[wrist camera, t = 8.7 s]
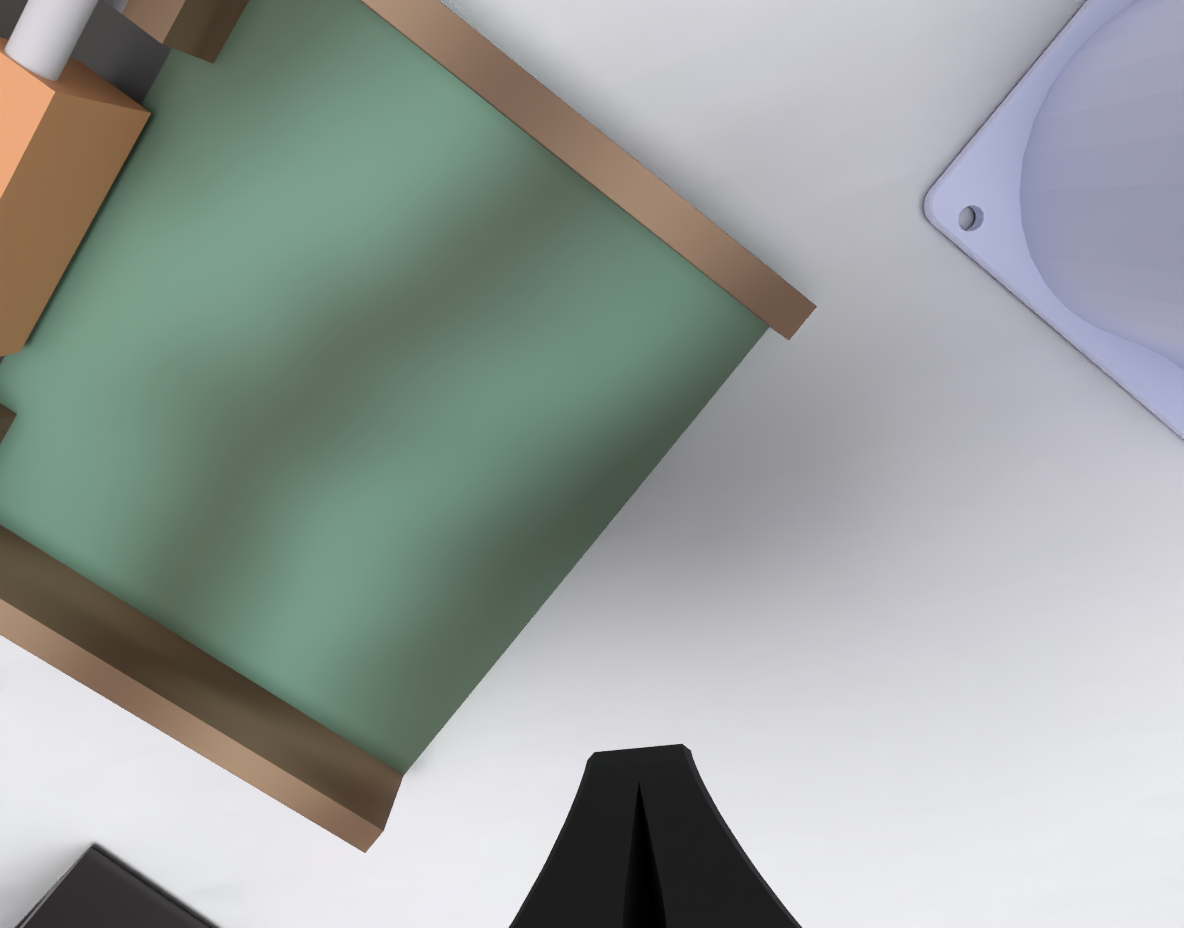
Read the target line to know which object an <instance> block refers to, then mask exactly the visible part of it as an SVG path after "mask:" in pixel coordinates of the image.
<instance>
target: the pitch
mask: <svg viewBox="0 0 1184 928" xmlns="http://www.w3.org/2000/svg"><path fill="white" fill-rule="evenodd" d="M27 2H28V0H0V37H1V38H4V39H8V40H9V39H10V37H11V35H12V33H13V31H14V29H15V27H16V25H17V23H18V21H19V18H20V16H21V14H22V12H23V10H24V8H25V6H26V4H27ZM69 58H73V59H76V60H79V61H81V62H82V63H83V64H85V65H86V66H87V67H89V68H90V69H92V70H93V71H94V72H96V73H97V74H98V75H100V76H101V77H102V78H104V79H105V80H107V81H108V82H109V83H111V84H112V85H113V86H115V87H116V88H117V89H119V90H120V91H122V92H123V93H124V94H126V95H127V96H128V97H130V98H131V99H132V100H134V101H135V102H137V103H138V104H139V105H141V106H142V107H143V108H145V109H146V110H147V111H149V112H150V113H151V114H150V116H149V118H148V120H147V121H146V123H145V125H144V127H143V129H142V131H141V132H140V134H139V136H138V138H137V140H136V142H135V143H134V145H133V147H132V149H131V151H130V152H129V154H128V156H127V158H126V160H125V162H124V163H123V165H122V167H121V169H120V171H119V173H118V174H117V176H116V178H115V180H114V182H113V183H112V185H111V187H110V189H109V191H108V193H107V194H106V196H105V198H104V200H103V202H102V204H101V205H100V207H99V209H98V211H97V213H96V214H95V216H94V218H93V220H92V222H91V224H90V225H89V227H88V229H87V231H86V233H85V234H84V236H83V238H82V240H81V242H80V244H79V245H78V247H77V249H76V251H75V253H74V255H73V256H72V258H71V260H70V262H69V264H68V265H67V267H66V269H65V271H64V273H63V275H62V276H61V278H60V280H59V282H58V284H57V286H56V287H55V289H54V291H53V293H52V295H51V296H50V298H49V300H48V302H47V304H46V306H45V307H44V309H43V311H42V313H41V315H40V317H39V318H38V320H37V322H36V324H35V326H34V327H33V329H32V331H31V333H30V335H29V337H28V338H27V340H26V342H25V344H24V346H23V347H22V349H21V351H20V352H18V353H14V354H10V355H5V356H1V357H0V635H2V636H3V637H5V638H7V639H8V640H10V641H12V642H13V643H15V644H17V645H18V646H20V647H22V648H23V649H25V650H27V651H28V652H30V653H32V654H33V655H35V656H37V657H38V658H40V659H42V660H43V661H45V662H47V663H48V664H50V665H52V666H53V667H55V668H57V669H58V670H60V671H62V672H63V673H65V674H67V675H68V676H70V677H72V678H73V679H75V680H77V681H78V682H80V683H82V684H83V685H85V686H87V687H89V688H90V689H92V690H94V691H95V692H97V693H99V694H100V695H102V696H104V697H105V698H107V699H109V700H110V701H112V702H114V703H115V704H117V705H119V706H120V707H122V708H124V709H125V710H127V711H129V712H130V713H132V714H134V715H135V716H137V717H139V718H140V719H142V720H144V721H145V722H147V723H149V724H150V725H152V726H154V727H155V728H157V729H159V730H160V731H162V732H164V733H165V734H167V735H169V736H170V737H172V738H174V739H175V740H177V741H179V742H180V743H182V744H184V745H185V746H187V747H189V748H190V749H192V750H194V751H195V752H197V753H199V754H200V755H202V756H204V757H206V758H207V759H209V760H211V761H212V762H214V763H216V764H217V765H219V766H221V767H222V768H224V769H226V770H227V771H229V772H231V773H232V774H234V775H236V776H237V777H239V778H241V779H242V780H244V781H246V782H247V783H249V784H251V785H252V786H254V787H256V788H257V789H259V790H261V791H262V792H264V793H266V794H267V795H269V796H271V797H272V798H274V799H276V800H277V801H279V802H281V803H282V804H284V805H286V806H287V807H289V808H291V809H292V810H294V811H296V812H297V813H299V814H301V815H302V816H304V817H306V818H307V819H309V820H311V821H312V822H314V823H316V824H317V825H319V826H321V827H323V828H324V829H326V830H328V831H329V832H331V833H333V834H334V835H336V836H338V837H339V838H341V839H343V840H344V841H346V842H348V843H349V844H351V845H353V846H354V847H356V848H358V849H359V850H361V851H363V852H364V853H366V851H367V850H368V849H369V848H370V847H371V845H372V844H373V843H374V842H375V841H376V839H377V838H378V837H379V836H380V834H381V833H382V832H383V831H384V828H385V825H386V823H387V820H388V817H389V814H390V811H391V809H392V806H393V803H394V800H395V798H396V795H397V792H398V789H399V787H400V784H401V781H402V778H403V775H404V774H405V773H406V772H407V771H408V769H409V768H410V767H411V766H412V764H413V763H414V762H415V761H416V759H417V758H418V757H419V756H420V755H421V753H422V752H423V751H424V750H425V748H426V747H427V746H428V745H429V744H430V742H431V741H432V740H433V739H434V737H435V736H436V735H437V734H438V733H439V731H440V730H441V729H442V728H443V726H444V725H445V724H446V723H447V721H448V720H449V719H450V718H451V717H452V715H453V714H454V713H455V712H456V710H457V709H458V708H459V707H460V706H461V704H462V703H463V702H464V701H465V699H466V698H467V697H468V696H469V694H470V693H471V692H472V691H473V690H474V688H475V687H476V686H477V685H478V683H479V682H480V681H481V680H482V679H483V677H484V676H485V675H486V674H487V672H488V671H489V670H490V669H491V667H492V666H493V665H494V664H495V663H496V661H497V660H498V659H499V658H500V656H501V655H502V654H503V653H504V652H505V650H506V649H507V648H508V647H509V645H510V644H511V643H512V642H513V641H514V639H515V638H516V637H517V636H518V634H519V633H520V632H521V631H522V629H523V628H524V627H525V626H526V625H527V623H528V622H529V621H530V620H531V618H532V617H533V616H534V615H535V614H536V612H537V611H538V610H539V609H540V607H541V606H542V605H543V604H544V602H545V601H546V600H547V599H548V598H549V596H550V595H551V594H552V593H553V591H554V590H555V589H556V588H557V587H558V585H559V584H560V583H561V582H562V580H563V579H564V578H565V577H566V575H567V574H568V573H569V572H570V571H571V569H572V568H573V567H574V566H575V564H576V563H577V562H578V561H579V560H580V558H581V557H582V556H583V555H584V553H585V552H586V551H587V550H588V549H589V547H590V546H591V545H592V544H593V542H594V541H595V540H596V539H597V537H598V536H599V535H600V534H601V533H602V531H603V530H604V529H605V528H606V526H607V525H608V524H609V523H610V522H611V520H612V519H613V518H614V517H615V515H616V514H617V513H618V512H619V510H620V509H621V508H622V507H623V506H624V504H625V503H626V502H627V501H628V499H629V498H630V497H631V496H632V495H633V493H634V492H635V491H636V490H637V488H638V487H639V486H640V485H641V484H642V482H643V481H644V480H645V479H646V477H647V476H648V475H649V474H650V472H651V471H652V470H653V469H654V468H655V466H656V465H657V464H658V463H659V461H660V460H661V459H662V458H663V457H664V455H665V454H666V453H667V452H668V450H669V449H670V448H671V447H672V445H673V444H674V443H675V442H676V441H677V439H678V438H679V437H680V436H681V434H682V433H683V432H684V431H685V430H686V428H687V427H688V426H689V425H690V423H691V422H692V421H693V420H694V418H695V417H696V416H697V415H698V414H699V412H700V411H701V410H702V409H703V407H704V406H705V405H706V404H707V403H708V401H709V400H710V399H711V398H712V396H713V395H714V394H715V393H716V392H717V390H718V389H719V388H720V387H721V385H722V384H723V383H724V382H725V380H726V379H727V378H728V377H729V376H730V374H731V373H732V372H733V371H734V369H735V368H736V367H737V366H738V365H739V363H740V362H741V361H742V360H743V358H744V357H745V356H746V355H747V353H748V352H749V351H750V350H751V349H752V347H753V346H754V345H755V344H756V342H757V341H758V340H759V339H760V338H761V336H762V335H763V334H764V333H765V331H766V330H767V329H768V328H769V327H771V328H772V329H774V330H775V331H777V332H778V333H779V334H781V335H782V336H784V337H785V338H787V339H788V340H790V338H791V337H792V336H793V335H794V334H795V332H796V331H797V330H798V329H799V328H800V326H801V325H802V324H803V323H804V321H805V320H806V319H807V318H808V317H809V315H810V314H811V313H812V312H813V311H814V309H815V308H816V307H817V306H816V305H814V304H813V303H812V302H811V301H809V300H808V299H807V298H806V297H804V296H803V295H802V294H801V293H799V292H798V291H797V290H796V289H795V288H793V287H792V286H791V285H790V284H788V283H787V282H786V281H785V280H783V279H782V278H781V277H780V276H778V275H777V274H776V273H775V272H774V271H772V270H771V269H770V268H769V267H767V266H766V265H765V264H764V263H762V262H761V261H760V260H759V259H757V258H756V257H755V256H754V255H753V254H751V253H750V252H749V251H748V250H746V249H745V248H744V247H743V246H741V245H740V244H739V243H738V242H736V241H735V240H734V239H733V238H732V237H730V236H729V235H728V234H727V233H725V232H724V231H723V230H722V229H720V228H719V227H718V226H717V225H715V224H714V223H713V222H712V221H711V220H709V219H708V218H707V217H706V216H704V215H703V214H702V213H701V212H699V211H698V210H697V209H696V208H694V207H693V206H692V205H691V204H690V203H688V202H687V201H686V200H685V199H683V198H682V197H681V196H680V195H678V194H677V193H676V192H675V191H673V190H672V189H671V188H670V187H669V186H667V185H666V184H665V183H664V182H662V181H661V180H660V179H659V178H657V177H656V176H655V175H654V174H652V173H651V172H650V171H649V170H648V169H646V168H645V167H644V166H643V165H641V164H640V163H639V162H638V161H636V160H635V159H634V158H633V157H631V156H630V155H629V154H628V153H627V152H625V151H624V150H623V149H622V148H620V147H619V146H618V145H617V144H615V143H614V142H613V141H612V140H610V139H609V138H608V137H607V136H606V135H604V134H603V133H602V132H601V131H599V130H598V129H597V128H596V127H594V126H593V125H592V124H591V123H589V122H588V121H587V120H586V119H585V118H583V117H582V116H581V115H580V114H578V113H577V112H576V111H575V110H573V109H572V108H571V107H570V106H568V105H567V104H566V103H565V102H564V101H562V100H561V99H560V98H559V97H557V96H556V95H555V94H554V93H552V92H551V91H550V90H549V89H547V88H546V87H545V86H544V85H542V84H541V83H540V82H539V81H538V80H536V79H535V78H534V77H533V76H531V75H530V74H529V73H528V72H526V71H525V70H524V69H523V68H521V67H520V66H519V65H518V64H517V63H515V62H514V61H513V60H512V59H510V58H509V57H508V56H507V55H505V54H504V53H503V52H502V51H500V50H499V49H498V48H497V47H496V46H494V45H493V44H492V43H491V42H489V41H488V40H487V39H486V38H484V37H483V36H482V35H481V34H479V33H478V32H477V31H476V30H475V29H473V28H472V27H471V26H470V25H468V24H467V23H466V22H465V21H463V20H462V19H461V18H460V17H458V16H457V15H456V14H455V13H454V12H452V11H451V10H450V9H449V8H447V7H446V6H445V5H444V4H442V3H441V2H440V1H439V0H98V2H97V4H96V6H95V8H94V10H93V12H92V14H91V16H90V18H89V20H88V22H87V23H86V25H85V27H84V29H83V31H82V33H81V35H80V37H79V39H78V41H77V43H76V45H75V47H74V49H73V51H72V53H71V55H70V57H69Z"/></svg>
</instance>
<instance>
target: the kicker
mask: <svg viewBox="0 0 1184 928" xmlns="http://www.w3.org/2000/svg"><path fill="white" fill-rule="evenodd" d="M97 2H98V0H28V2H27V4H26V6H25V8H24V10H23V12H22V14H21V16H20V18H19V21H18V23H17V25H16V27H15V29H14V31H13V33H12V35H11V37H10V39H9V40H8V39H4V38H1V37H0V357H1V356H5V355H10V354H14V353H18V352H20V351H21V349H22V347H23V346H24V344H25V342H26V340H27V338H28V337H29V335H30V333H31V331H32V329H33V327H34V326H35V324H36V322H37V320H38V318H39V317H40V315H41V313H42V311H43V309H44V307H45V306H46V304H47V302H48V300H49V298H50V296H51V295H52V293H53V291H54V289H55V287H56V286H57V284H58V282H59V280H60V278H61V276H62V275H63V273H64V271H65V269H66V267H67V265H68V264H69V262H70V260H71V258H72V256H73V255H74V253H75V251H76V249H77V247H78V245H79V244H80V242H81V240H82V238H83V236H84V234H85V233H86V231H87V229H88V227H89V225H90V224H91V222H92V220H93V218H94V216H95V214H96V213H97V211H98V209H99V207H100V205H101V204H102V202H103V200H104V198H105V196H106V194H107V193H108V191H109V189H110V187H111V185H112V183H113V182H114V180H115V178H116V176H117V174H118V173H119V171H120V169H121V167H122V165H123V163H124V162H125V160H126V158H127V156H128V154H129V152H130V151H131V149H132V147H133V145H134V143H135V142H136V140H137V138H138V136H139V134H140V132H141V131H142V129H143V127H144V125H145V123H146V121H147V120H148V118H149V116H150V114H151V113H150V112H149V111H147V110H146V109H145V108H143V107H142V106H141V105H139V104H138V103H137V102H135V101H134V100H132V99H131V98H130V97H128V96H127V95H126V94H124V93H123V92H122V91H120V90H119V89H117V88H116V87H115V86H113V85H112V84H111V83H109V82H108V81H107V80H105V79H104V78H102V77H101V76H100V75H98V74H97V73H96V72H94V71H93V70H92V69H90V68H89V67H87V66H86V65H85V64H83V63H82V62H81V61H79V60H76V59H73V58H69V57H70V55H71V53H72V51H73V49H74V47H75V45H76V43H77V41H78V39H79V37H80V35H81V33H82V31H83V29H84V27H85V25H86V23H87V22H88V20H89V18H90V16H91V14H92V12H93V10H94V8H95V6H96V4H97Z"/></svg>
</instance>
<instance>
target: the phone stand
mask: <svg viewBox="0 0 1184 928" xmlns="http://www.w3.org/2000/svg"><path fill="white" fill-rule="evenodd" d="M15 928H209V927H208V926H206V925H205V924H203V923H202V922H200V921H199V920H198V919H196V918H195V917H193V916H192V915H190V914H189V913H187V912H186V911H184V910H183V909H181V908H180V907H179V906H177V905H176V904H174V903H173V902H171V901H170V900H168V899H167V898H165V897H164V896H162V895H161V894H160V893H158V892H157V891H155V890H154V889H152V888H151V887H149V886H148V885H146V884H145V883H143V882H142V881H140V880H139V879H138V878H136V877H135V876H133V875H132V874H130V873H129V872H127V871H126V870H124V869H123V868H121V867H120V866H119V865H117V864H116V863H114V862H113V861H111V860H110V859H108V858H107V857H105V856H104V855H102V854H101V853H99V852H98V851H97V850H95V849H94V848H92V847H90V848H89V849H88V850H87V851H86V852H85V853H84V854H83V855H82V856H81V857H80V858H79V859H78V860H77V861H76V862H75V864H74V865H73V866H72V867H71V868H70V869H69V870H68V871H67V872H66V873H65V874H64V875H63V876H62V877H61V879H60V880H59V881H58V882H57V883H56V884H55V885H54V886H53V887H52V888H51V889H50V890H49V891H48V892H47V893H46V895H45V896H44V897H43V898H42V899H41V900H40V901H39V902H38V903H37V904H36V905H35V906H34V907H33V908H32V910H31V911H30V912H29V913H28V914H27V915H26V916H25V917H24V918H23V919H22V920H21V921H20V922H19V923H18V924H17V926H16V927H15Z"/></svg>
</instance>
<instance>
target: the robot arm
mask: <svg viewBox="0 0 1184 928" xmlns="http://www.w3.org/2000/svg"><path fill="white" fill-rule="evenodd" d="M967 206H969V207H971V208H973V210H974V212H975V213H976V220H975V222H974V224H973V226H972V227H971V228H969V229H968V230H966V231H965V230H963V229H962V228H961V227H960V225H959V215H960V213H961V211H962V210H963V209H964V208H966V207H967ZM924 211H925V215H926V217H927V219H928V220H929V221H930V223H931V224H933V225H934V226H935V227H936V228H937V229H938V230H940V231H941V232H942V233H943V234H944V235H945V236H947V237H948V238H949V239H950V240H951V241H952V242H954V243H955V244H956V245H957V246H958V247H959V248H961V249H962V250H963V251H964V252H965V253H966V254H968V255H969V256H970V257H971V258H972V259H973V260H975V261H976V262H977V263H978V264H979V265H980V266H982V267H983V268H984V269H985V270H986V271H987V272H989V273H990V274H991V275H992V276H993V277H994V278H996V279H997V280H998V281H999V282H1000V283H1001V284H1003V285H1004V286H1005V287H1006V288H1007V289H1008V290H1010V291H1011V292H1012V293H1013V294H1014V295H1015V296H1017V297H1018V298H1019V299H1020V300H1021V301H1022V302H1024V303H1025V304H1026V305H1027V306H1028V307H1029V308H1031V309H1032V310H1033V311H1034V312H1035V313H1036V314H1038V315H1039V316H1040V317H1041V318H1042V319H1044V320H1045V321H1046V322H1047V323H1048V324H1049V325H1051V326H1052V327H1053V328H1054V329H1055V330H1056V331H1058V332H1059V333H1060V334H1061V335H1062V336H1063V337H1065V338H1066V339H1067V340H1068V341H1069V342H1070V343H1072V344H1073V345H1074V346H1075V347H1076V348H1077V349H1079V350H1080V351H1081V352H1082V353H1083V354H1084V355H1086V356H1087V357H1088V358H1089V359H1090V360H1091V361H1093V362H1094V363H1095V364H1096V365H1097V366H1098V367H1100V368H1101V369H1102V370H1103V371H1104V372H1105V373H1107V374H1108V375H1109V376H1110V377H1111V378H1112V379H1114V380H1115V381H1116V382H1117V383H1118V384H1119V385H1121V386H1122V387H1123V388H1124V389H1125V390H1126V391H1128V392H1129V393H1130V394H1131V395H1132V396H1133V397H1135V398H1136V399H1137V400H1138V401H1139V402H1140V403H1142V404H1143V405H1144V406H1145V407H1146V408H1147V409H1149V410H1150V411H1151V412H1152V413H1153V414H1154V415H1156V416H1157V417H1158V418H1159V419H1160V420H1161V421H1163V422H1164V423H1165V424H1166V425H1167V426H1168V427H1170V428H1171V429H1172V430H1173V431H1174V432H1175V433H1177V434H1178V435H1179V436H1180V437H1181V438H1182V439H1184V0H1087V1H1086V2H1085V4H1084V5H1083V6H1082V7H1081V8H1080V10H1079V11H1078V12H1077V13H1076V14H1075V16H1074V17H1073V18H1072V19H1071V20H1070V22H1069V23H1068V24H1067V25H1066V26H1065V28H1064V29H1063V30H1062V31H1061V32H1060V34H1059V35H1058V36H1057V37H1056V38H1055V40H1054V41H1053V42H1052V43H1051V44H1050V46H1049V47H1048V48H1047V49H1046V50H1045V52H1044V53H1043V54H1042V55H1041V56H1040V58H1039V59H1038V60H1037V61H1036V62H1035V64H1034V65H1033V66H1032V67H1031V68H1030V70H1029V71H1028V72H1027V73H1026V74H1025V76H1024V77H1023V78H1022V79H1021V80H1020V82H1019V83H1018V84H1017V85H1016V86H1015V88H1014V89H1013V90H1012V91H1011V92H1010V94H1009V95H1008V96H1007V97H1006V99H1005V100H1004V101H1003V102H1002V103H1001V105H1000V106H999V107H998V108H997V109H996V111H995V112H994V113H993V114H992V115H991V117H990V118H989V119H988V120H987V121H986V123H985V124H984V125H983V126H982V127H981V129H980V130H979V131H978V132H977V133H976V135H975V136H974V137H973V138H972V139H971V141H970V142H969V143H968V144H967V145H966V147H965V148H964V149H963V150H962V151H961V153H960V154H959V155H958V156H957V157H956V159H955V160H954V161H953V162H952V163H951V165H950V166H949V167H948V168H947V169H946V171H945V172H944V173H943V174H942V175H941V177H940V178H939V179H938V180H937V181H936V183H935V184H934V185H933V186H932V187H931V189H930V190H929V192H928V194H927V195H926V197H925V202H924ZM509 928H802V927H801V926H800V925H799V923H798V922H797V921H796V920H795V918H794V917H793V916H792V915H791V914H790V912H789V911H788V910H787V909H786V907H785V906H784V905H783V904H782V902H781V901H780V900H779V899H778V897H777V896H776V895H775V893H774V892H773V891H772V889H771V888H770V887H769V885H768V884H767V883H766V881H765V880H764V879H763V877H762V876H761V875H760V873H759V872H758V870H757V869H756V868H755V866H754V865H753V863H752V862H751V860H750V859H749V858H748V856H747V855H746V853H745V852H744V850H743V849H742V847H741V846H740V844H739V842H738V841H737V839H736V838H735V836H734V835H733V833H732V832H731V830H730V829H729V827H728V825H727V824H726V822H725V821H724V819H723V817H722V816H721V814H720V812H719V811H718V809H717V807H716V805H715V804H714V802H713V800H712V798H711V796H710V794H709V792H708V791H707V789H706V787H705V785H704V783H703V781H702V779H701V777H700V774H699V772H698V770H697V767H696V765H695V762H694V760H693V757H692V753H691V750H689V749H688V748H687V747H685V746H684V745H683V744H676V745H665V746H655V747H644V748H634V749H623V750H613V751H602V752H594V753H593V755H592V756H591V757H590V758H589V759H588V760H587V764H586V767H585V771H584V774H583V777H582V780H581V783H580V786H579V789H578V791H577V794H576V796H575V799H574V802H573V804H572V806H571V809H570V811H569V813H568V816H567V818H566V821H565V823H564V825H563V827H562V829H561V831H560V833H559V835H558V838H557V840H556V842H555V844H554V846H553V848H552V850H551V852H550V854H549V856H548V859H547V861H546V863H545V865H544V866H543V868H542V870H541V872H540V874H539V876H538V878H537V879H536V881H535V883H534V885H533V886H532V888H531V890H530V892H529V894H528V895H527V897H526V899H525V901H524V903H523V904H522V906H521V908H520V910H519V911H518V913H517V915H516V917H515V918H514V920H513V922H512V923H511V925H510V926H509Z"/></svg>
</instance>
